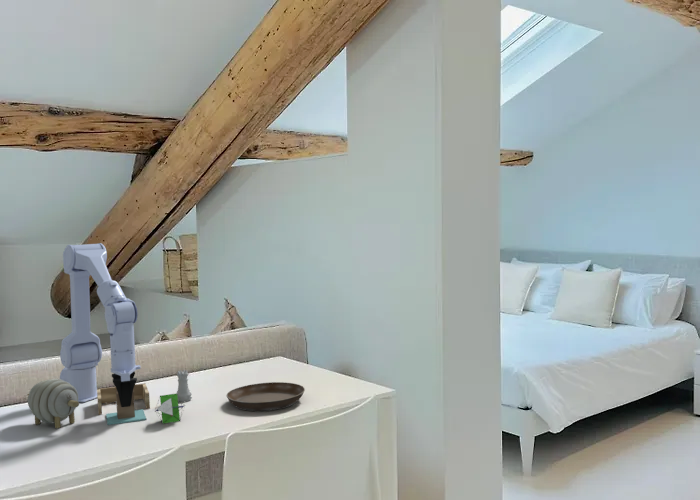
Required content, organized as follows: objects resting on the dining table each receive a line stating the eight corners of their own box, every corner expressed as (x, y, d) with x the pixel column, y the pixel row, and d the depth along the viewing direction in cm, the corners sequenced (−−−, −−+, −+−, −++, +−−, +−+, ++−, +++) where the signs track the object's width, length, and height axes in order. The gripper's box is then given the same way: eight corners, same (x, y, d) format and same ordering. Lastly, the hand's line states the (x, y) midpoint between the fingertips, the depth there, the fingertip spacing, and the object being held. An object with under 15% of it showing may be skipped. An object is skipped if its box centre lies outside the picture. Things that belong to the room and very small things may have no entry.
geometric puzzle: (152, 409, 168) (154, 388, 164) (180, 405, 171) (182, 384, 167) (156, 432, 163) (158, 411, 159) (185, 428, 166) (188, 407, 162)
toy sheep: (48, 415, 174) (46, 372, 173) (98, 421, 167) (95, 377, 166) (13, 427, 164) (10, 382, 164) (63, 434, 157) (61, 387, 157)
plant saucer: (210, 410, 175) (210, 397, 175) (255, 390, 193) (254, 379, 193) (279, 418, 166) (278, 404, 166) (318, 396, 185) (318, 384, 184)
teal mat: (106, 415, 172) (106, 413, 172) (143, 410, 175) (143, 409, 175) (107, 425, 163) (107, 423, 163) (146, 419, 167) (146, 418, 167)
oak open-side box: (97, 403, 184) (97, 388, 183) (145, 397, 188) (145, 383, 188) (98, 414, 173) (97, 399, 172) (149, 408, 177) (149, 393, 177)
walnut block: (117, 415, 170) (115, 389, 170) (133, 412, 172) (132, 388, 172) (117, 419, 167) (116, 393, 166) (134, 417, 168) (133, 391, 168)
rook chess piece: (187, 402, 182) (186, 373, 181) (172, 402, 183) (171, 372, 182) (194, 398, 186) (193, 369, 186) (179, 397, 187) (178, 369, 187)
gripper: (141, 353, 163) (144, 408, 164) (137, 343, 177) (139, 394, 177) (110, 356, 161) (113, 412, 161) (108, 346, 174) (111, 398, 175)
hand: (125, 403), depth 169 cm, fingers open, 5 cm apart
